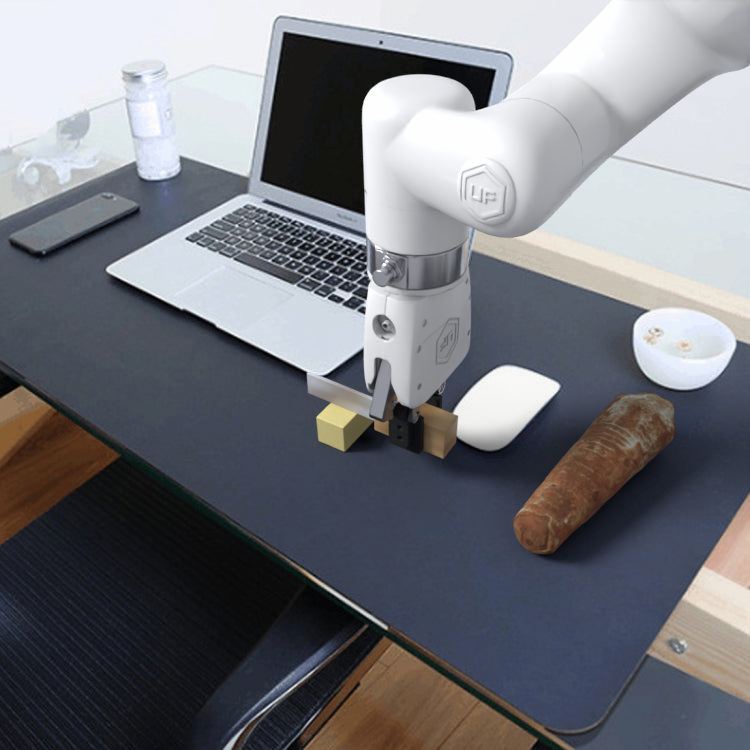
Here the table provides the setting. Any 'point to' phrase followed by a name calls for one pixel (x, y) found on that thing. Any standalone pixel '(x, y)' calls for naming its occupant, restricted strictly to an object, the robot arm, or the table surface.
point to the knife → (436, 421)
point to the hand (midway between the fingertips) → (415, 435)
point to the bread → (595, 469)
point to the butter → (340, 426)
